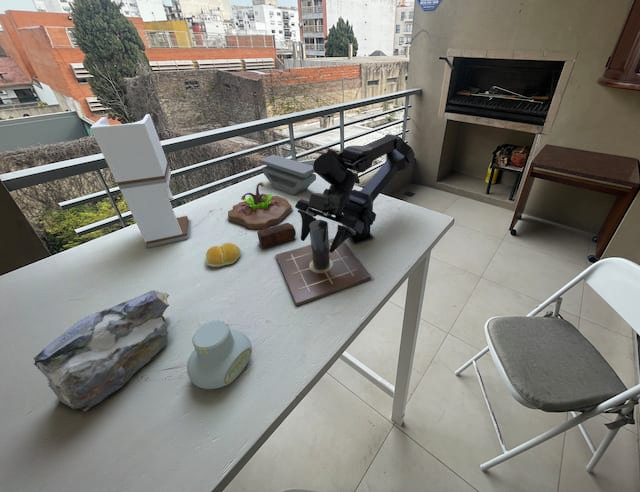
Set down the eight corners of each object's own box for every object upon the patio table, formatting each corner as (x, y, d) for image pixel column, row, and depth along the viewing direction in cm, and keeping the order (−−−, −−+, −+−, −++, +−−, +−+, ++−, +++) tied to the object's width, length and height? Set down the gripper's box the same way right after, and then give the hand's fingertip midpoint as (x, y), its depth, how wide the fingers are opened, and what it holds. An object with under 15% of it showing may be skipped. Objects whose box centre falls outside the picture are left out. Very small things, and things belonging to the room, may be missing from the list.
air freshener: (219, 403, 49) (202, 371, 43) (184, 384, 51) (164, 351, 46) (261, 350, 57) (251, 317, 52) (229, 335, 60) (217, 303, 54)
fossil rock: (167, 329, 65) (159, 275, 59) (194, 348, 62) (189, 293, 56) (44, 402, 48) (16, 336, 42) (74, 435, 44) (48, 368, 39)
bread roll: (243, 262, 80) (240, 250, 77) (208, 271, 76) (204, 260, 74) (239, 245, 86) (236, 235, 84) (206, 254, 82) (202, 243, 80)
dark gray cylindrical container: (326, 257, 80) (323, 218, 73) (332, 266, 77) (330, 227, 70) (310, 261, 78) (306, 222, 71) (316, 272, 75) (312, 231, 68)
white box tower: (188, 238, 88) (144, 123, 70) (148, 247, 84) (89, 127, 66) (188, 220, 97) (149, 114, 78) (152, 228, 93) (102, 117, 74)
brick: (263, 249, 84) (260, 237, 82) (259, 243, 87) (256, 230, 84) (296, 238, 89) (295, 226, 87) (292, 232, 92) (290, 220, 89)
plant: (301, 208, 105) (298, 181, 99) (261, 234, 91) (254, 204, 85) (263, 195, 114) (258, 169, 108) (221, 217, 99) (212, 188, 93)
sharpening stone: (263, 183, 123) (258, 159, 117) (276, 177, 128) (273, 154, 123) (306, 199, 111) (303, 173, 106) (319, 192, 117) (317, 167, 111)
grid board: (339, 239, 89) (339, 236, 89) (370, 279, 74) (370, 276, 74) (276, 257, 81) (275, 254, 81) (296, 306, 67) (296, 302, 66)
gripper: (295, 170, 71) (269, 227, 69) (358, 188, 63) (331, 253, 61) (317, 187, 81) (295, 237, 79) (374, 204, 73) (351, 261, 71)
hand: (315, 246), depth 72 cm, fingers open, 9 cm apart
